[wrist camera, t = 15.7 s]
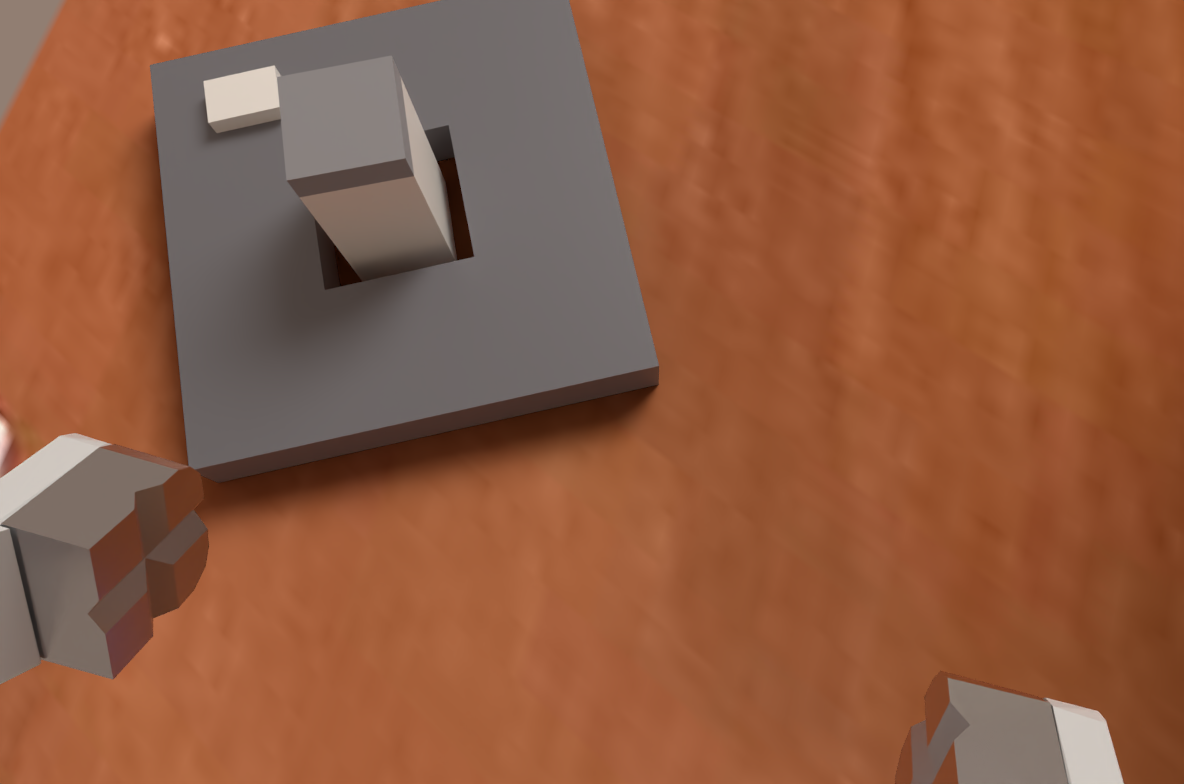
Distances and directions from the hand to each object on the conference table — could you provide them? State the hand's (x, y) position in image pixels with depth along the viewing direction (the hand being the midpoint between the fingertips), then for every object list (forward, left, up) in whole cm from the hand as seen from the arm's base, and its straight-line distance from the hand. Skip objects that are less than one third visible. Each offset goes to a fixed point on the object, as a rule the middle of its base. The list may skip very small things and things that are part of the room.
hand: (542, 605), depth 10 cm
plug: (+5, -19, -26) cm, 33 cm away
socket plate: (+5, -19, -26) cm, 33 cm away
